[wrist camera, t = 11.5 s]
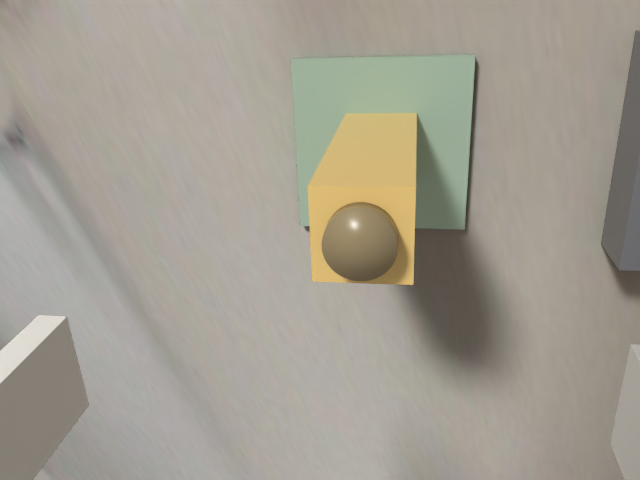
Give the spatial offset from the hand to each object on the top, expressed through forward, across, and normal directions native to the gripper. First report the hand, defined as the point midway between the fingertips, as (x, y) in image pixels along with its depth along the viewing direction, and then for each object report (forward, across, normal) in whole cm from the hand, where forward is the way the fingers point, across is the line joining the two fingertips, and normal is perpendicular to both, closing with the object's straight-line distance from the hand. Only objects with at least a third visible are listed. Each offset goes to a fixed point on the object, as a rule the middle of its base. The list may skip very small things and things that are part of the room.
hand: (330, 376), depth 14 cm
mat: (+23, 0, -1) cm, 23 cm away
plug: (+22, 0, -1) cm, 22 cm away
